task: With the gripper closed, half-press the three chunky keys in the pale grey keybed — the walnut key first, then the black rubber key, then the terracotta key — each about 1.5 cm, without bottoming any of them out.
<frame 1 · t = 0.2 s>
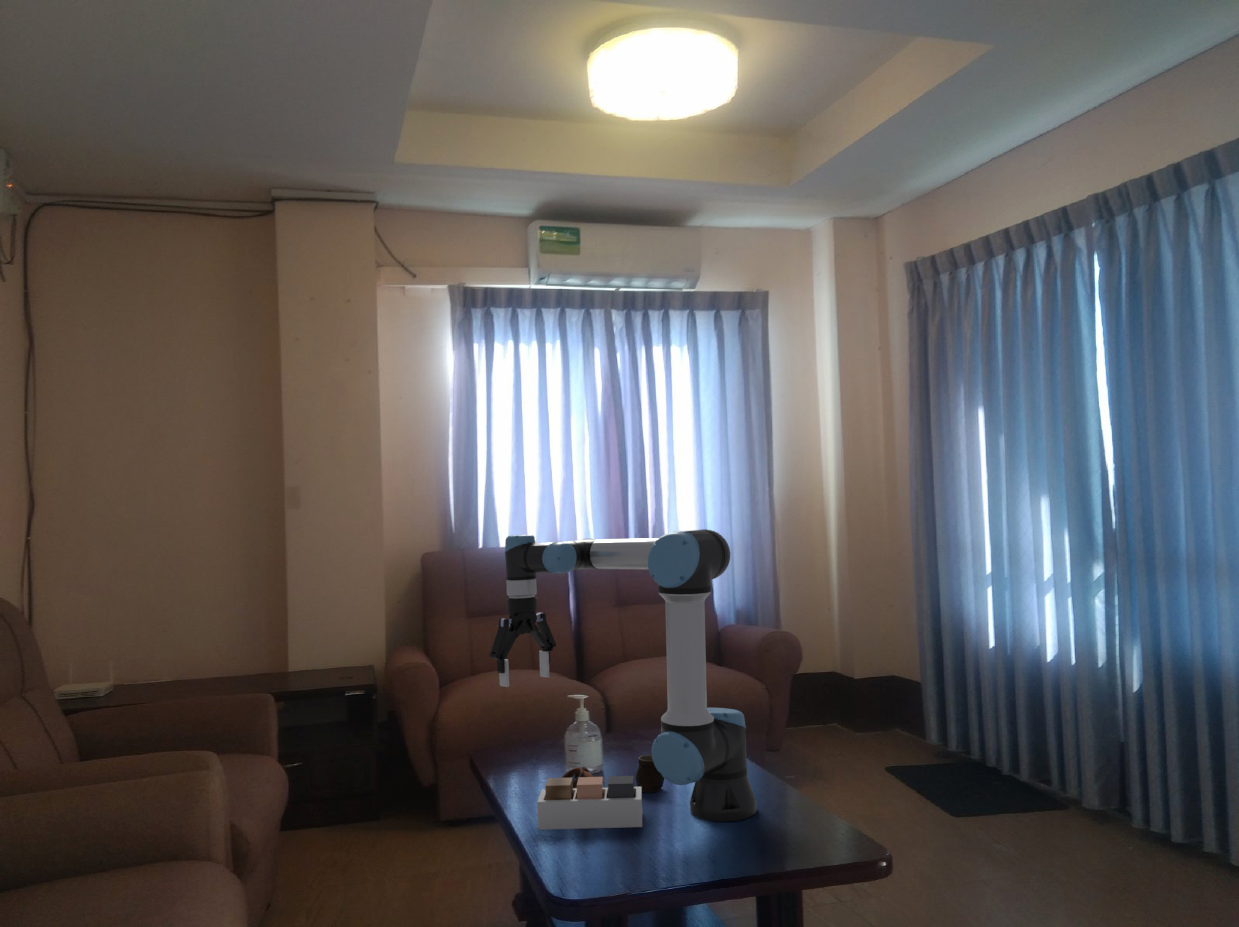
hand: (525, 681, 228), 28 cm above the table, fingers open, 13 cm apart
terracotta key: (590, 791, 206), point 6 cm above the table, slide at 0.0 cm
keybed: (591, 821, 206), on the table
mate gourd: (651, 790, 226), on the table
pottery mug: (581, 798, 223), on the table
black rubber key: (621, 791, 206), point 6 cm above the table, slide at 0.0 cm
walnut key: (559, 792, 206), point 6 cm above the table, slide at 0.0 cm
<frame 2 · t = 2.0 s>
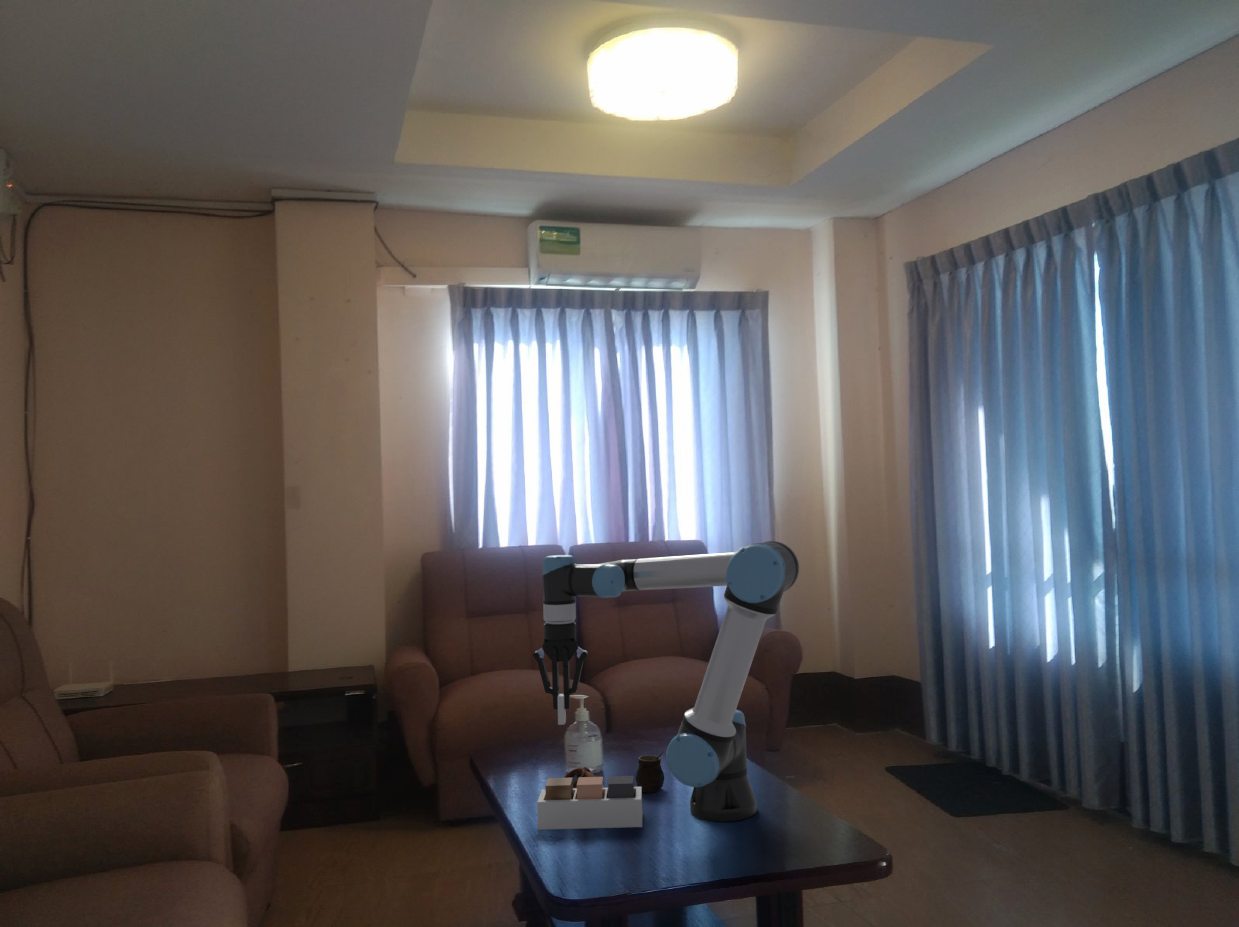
hand: (562, 723, 213), 21 cm above the table, fingers closed
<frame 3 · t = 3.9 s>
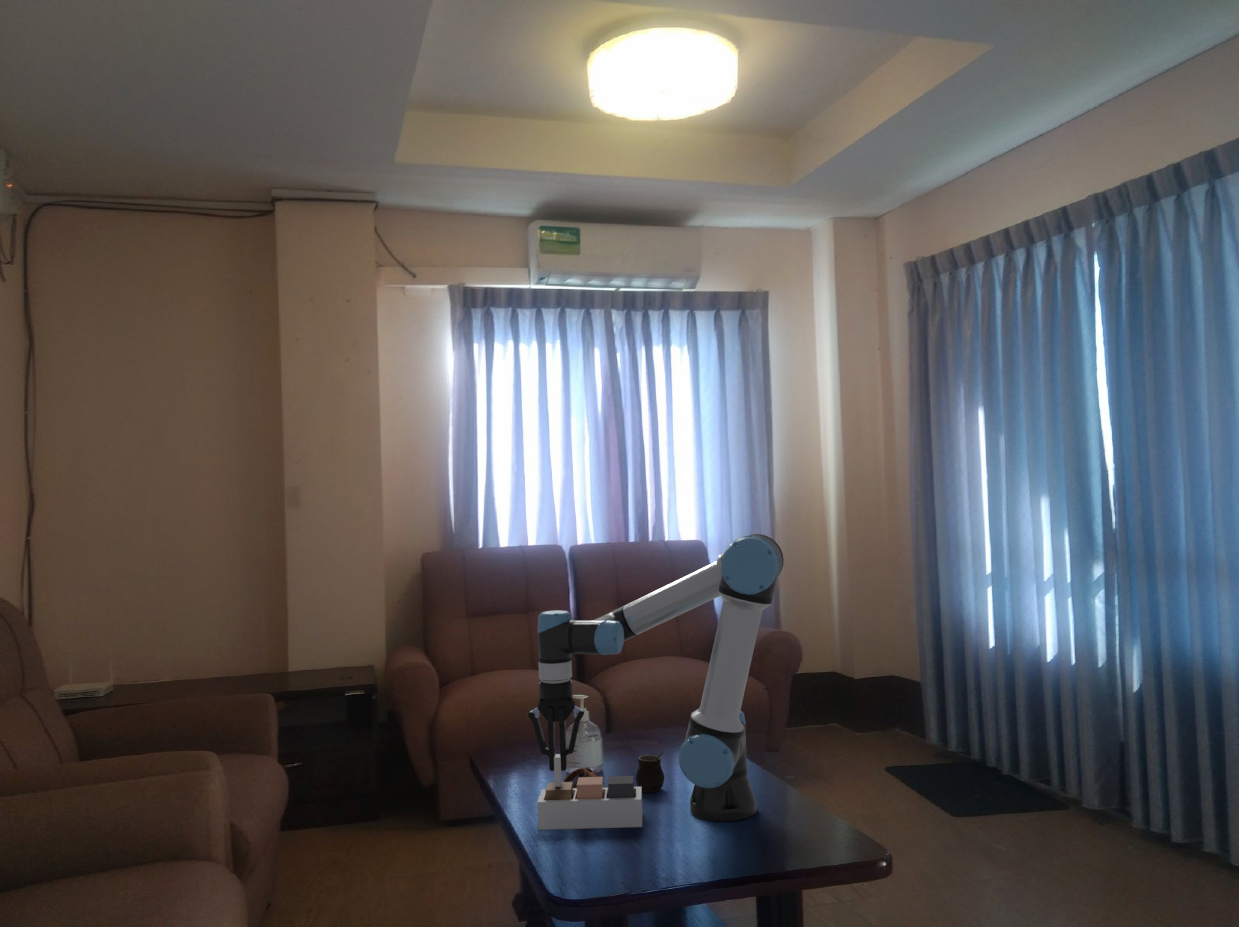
hand: (558, 784, 206), 8 cm above the table, fingers closed
walnut key: (559, 797, 206), point 6 cm above the table, slide at 1.0 cm, touching gripper
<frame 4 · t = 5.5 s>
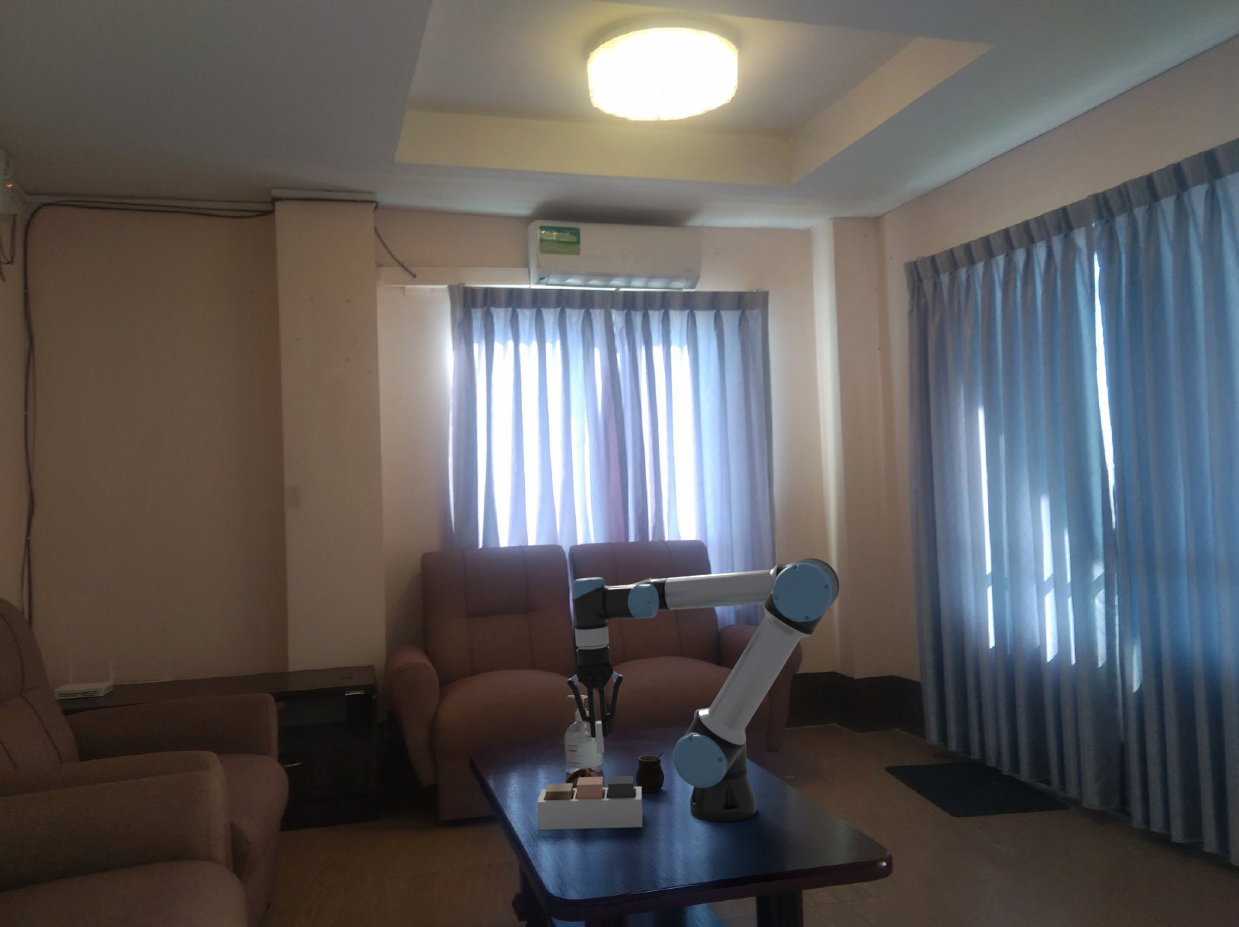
hand: (600, 751, 206), 16 cm above the table, fingers closed
walnut key: (559, 798, 206), point 5 cm above the table, slide at 1.3 cm
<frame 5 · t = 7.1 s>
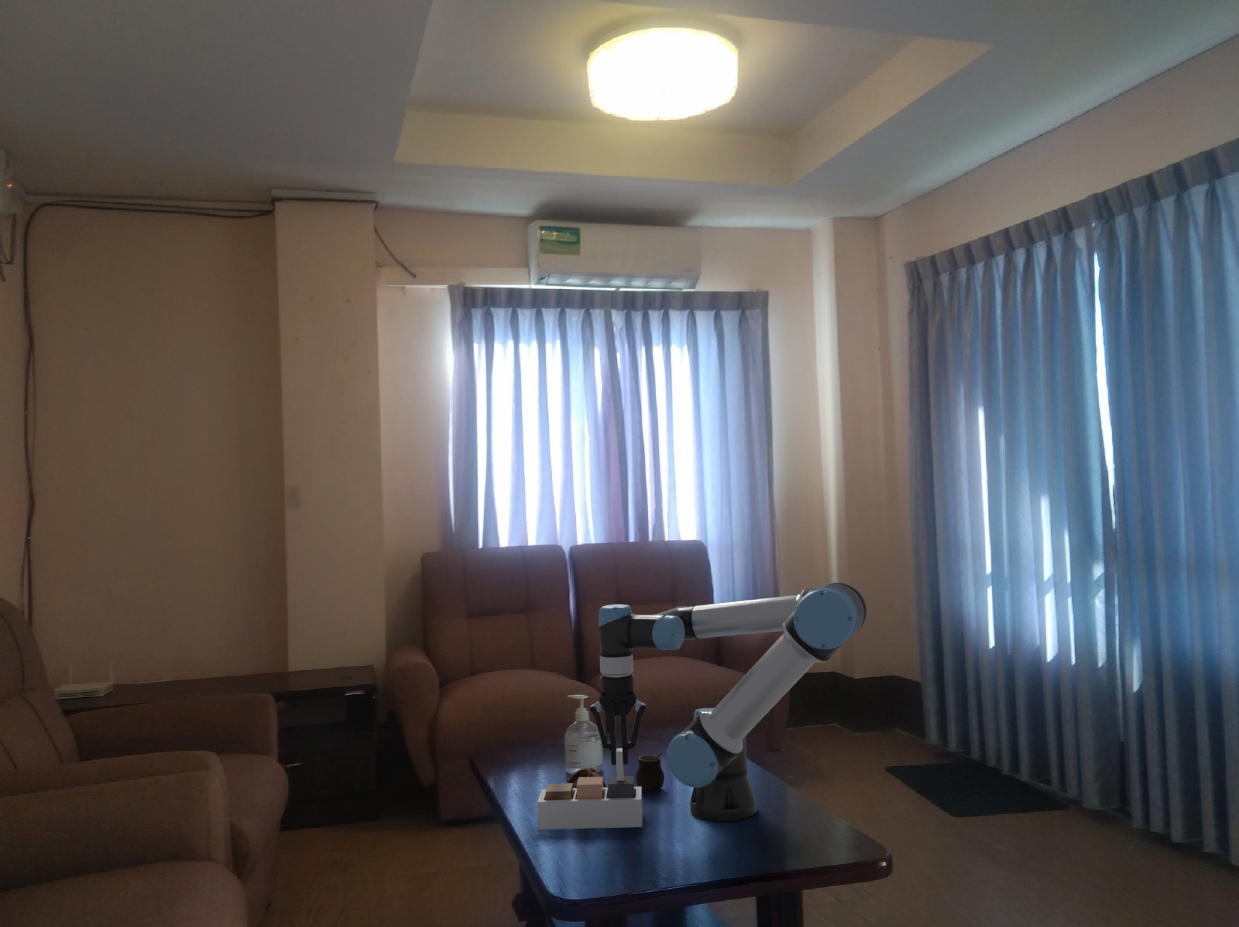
hand: (620, 778, 206), 9 cm above the table, fingers closed
black rubber key: (621, 791, 206), point 6 cm above the table, slide at 0.1 cm, touching gripper
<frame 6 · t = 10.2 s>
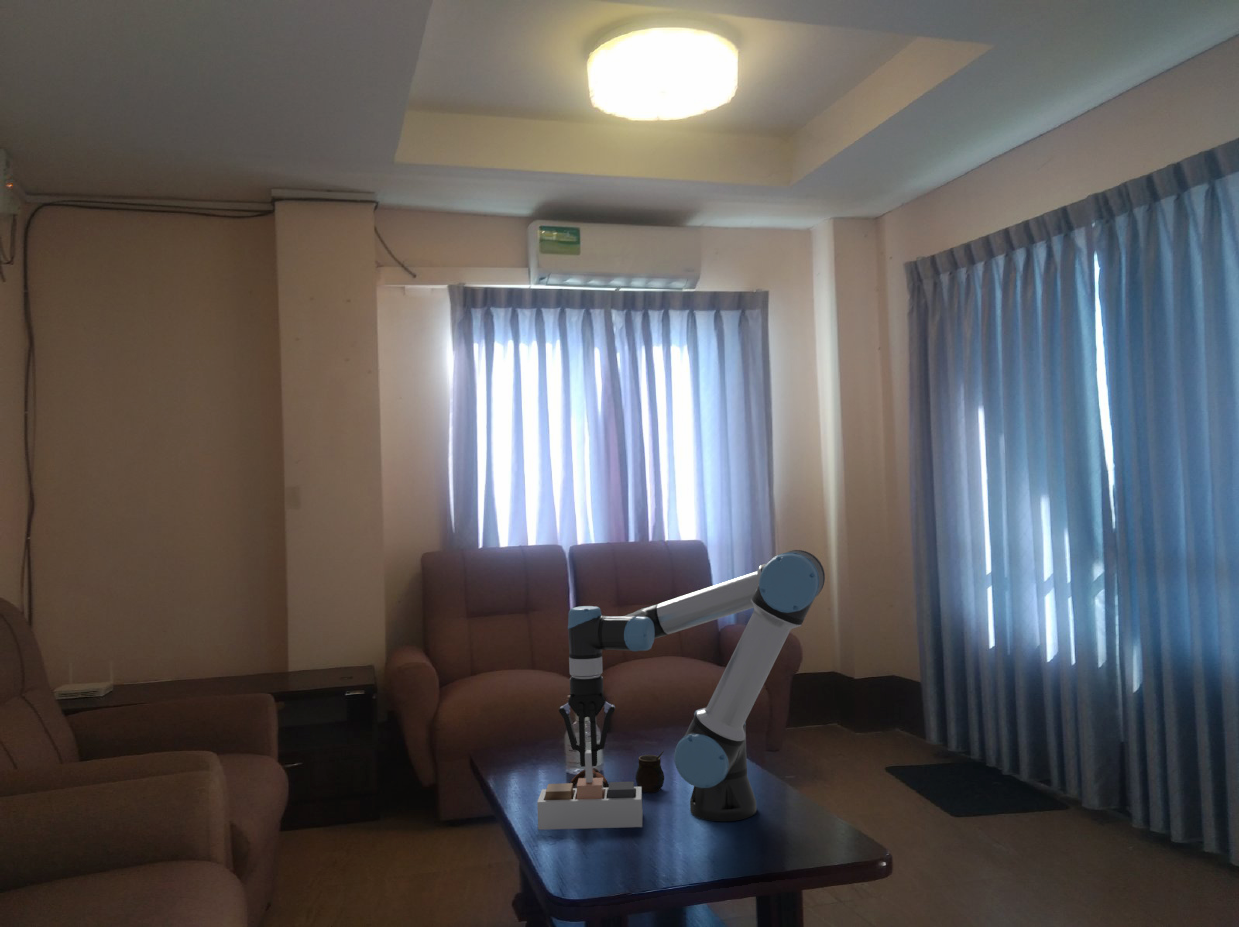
hand: (589, 780, 206), 9 cm above the table, fingers closed
terracotta key: (590, 792, 206), point 6 cm above the table, slide at 0.2 cm, touching gripper
black rubber key: (621, 796, 206), point 5 cm above the table, slide at 1.3 cm
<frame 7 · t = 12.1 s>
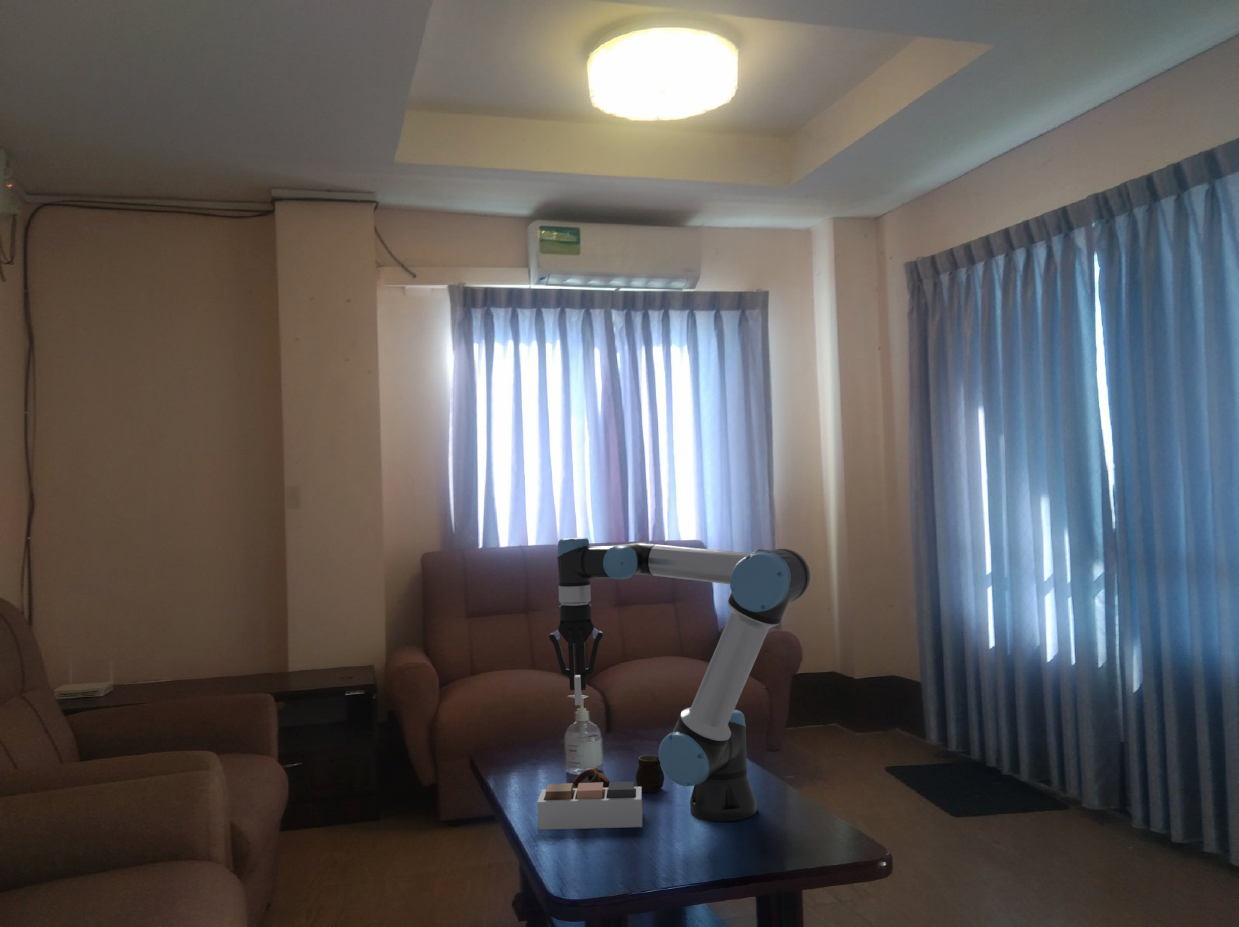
hand: (578, 703, 215), 25 cm above the table, fingers closed
terracotta key: (590, 797, 206), point 5 cm above the table, slide at 1.3 cm
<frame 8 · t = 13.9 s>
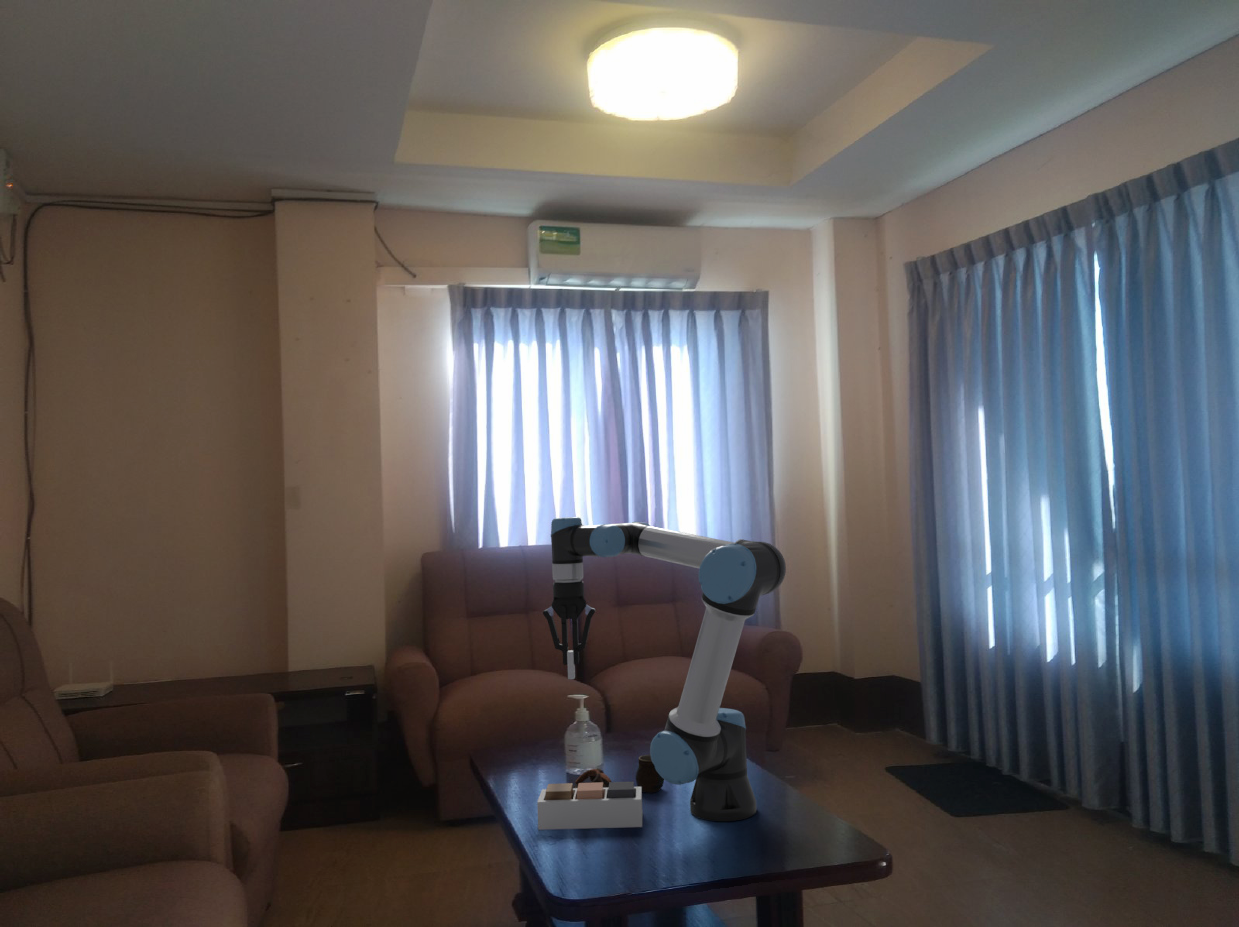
hand: (571, 678, 221), 29 cm above the table, fingers closed
at the end: walnut key slide at 1.3 cm; black rubber key slide at 1.3 cm; terracotta key slide at 1.3 cm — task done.
